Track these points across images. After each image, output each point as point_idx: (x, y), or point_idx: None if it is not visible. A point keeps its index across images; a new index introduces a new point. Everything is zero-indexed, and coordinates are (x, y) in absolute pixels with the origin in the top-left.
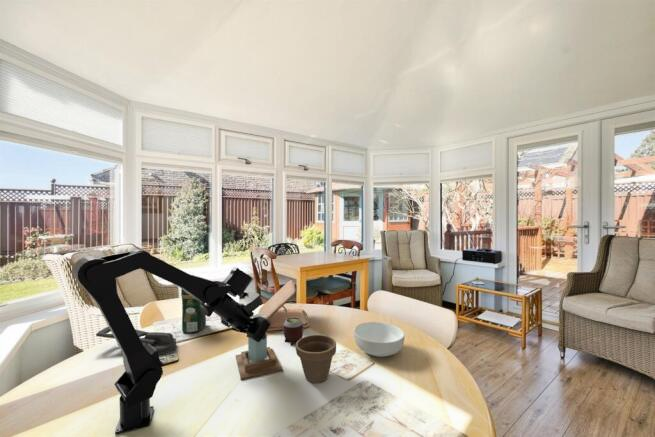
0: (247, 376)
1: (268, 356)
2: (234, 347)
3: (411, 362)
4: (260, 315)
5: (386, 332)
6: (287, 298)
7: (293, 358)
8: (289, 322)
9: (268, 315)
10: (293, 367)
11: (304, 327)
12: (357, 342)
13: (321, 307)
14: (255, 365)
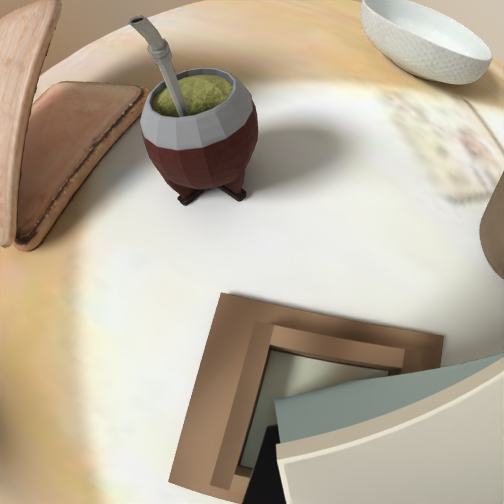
0: None
1: (312, 356)
2: (76, 428)
3: None
4: (466, 465)
5: (385, 15)
6: (41, 43)
7: (366, 248)
8: (207, 112)
9: (9, 180)
10: (434, 284)
11: None
12: (442, 66)
13: (88, 51)
14: None
